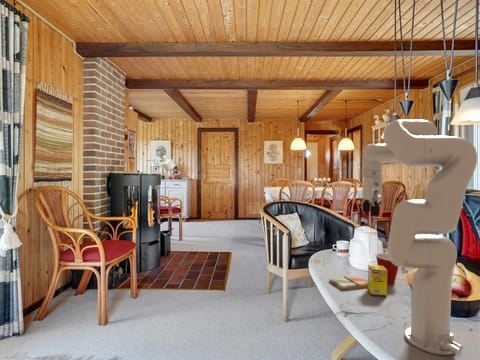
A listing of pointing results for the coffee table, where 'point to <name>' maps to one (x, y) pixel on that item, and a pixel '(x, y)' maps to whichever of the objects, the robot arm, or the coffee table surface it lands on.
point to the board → (350, 283)
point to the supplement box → (377, 280)
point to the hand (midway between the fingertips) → (370, 213)
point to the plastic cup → (387, 267)
